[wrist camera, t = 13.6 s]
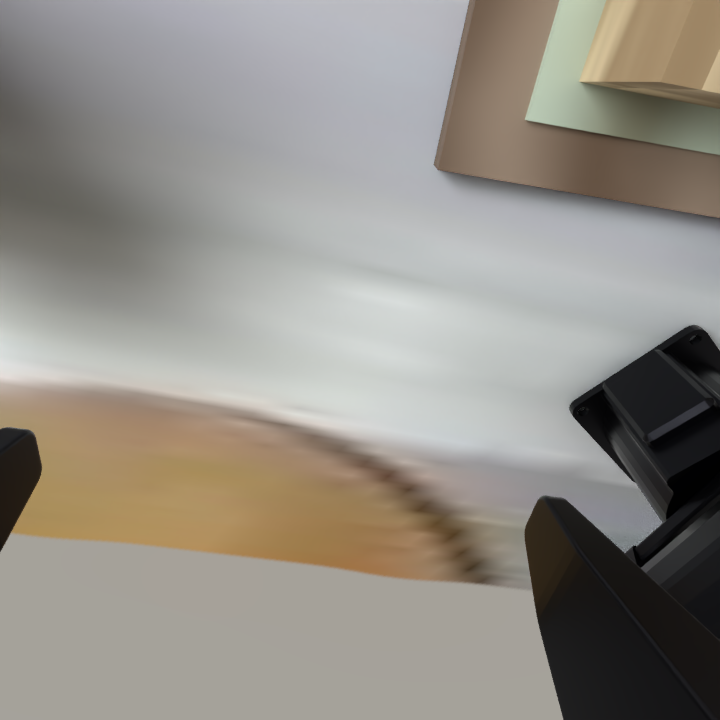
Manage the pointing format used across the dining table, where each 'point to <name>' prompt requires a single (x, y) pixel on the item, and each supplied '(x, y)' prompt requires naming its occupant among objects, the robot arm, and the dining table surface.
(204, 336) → the dining table surface
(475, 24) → the board
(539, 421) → the dining table surface
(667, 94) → the collar
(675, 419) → the robot arm
